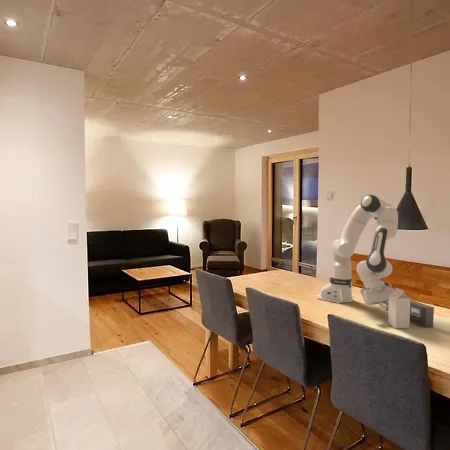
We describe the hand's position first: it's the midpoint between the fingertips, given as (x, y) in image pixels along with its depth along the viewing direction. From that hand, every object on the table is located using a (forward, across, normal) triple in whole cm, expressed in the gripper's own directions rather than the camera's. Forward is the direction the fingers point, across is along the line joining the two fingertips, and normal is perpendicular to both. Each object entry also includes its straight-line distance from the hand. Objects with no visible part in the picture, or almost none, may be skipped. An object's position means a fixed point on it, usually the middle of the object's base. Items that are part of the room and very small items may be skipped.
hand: (387, 310), depth 179 cm
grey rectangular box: (+6, +13, +2) cm, 15 cm away
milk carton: (+10, 0, -1) cm, 10 cm away
